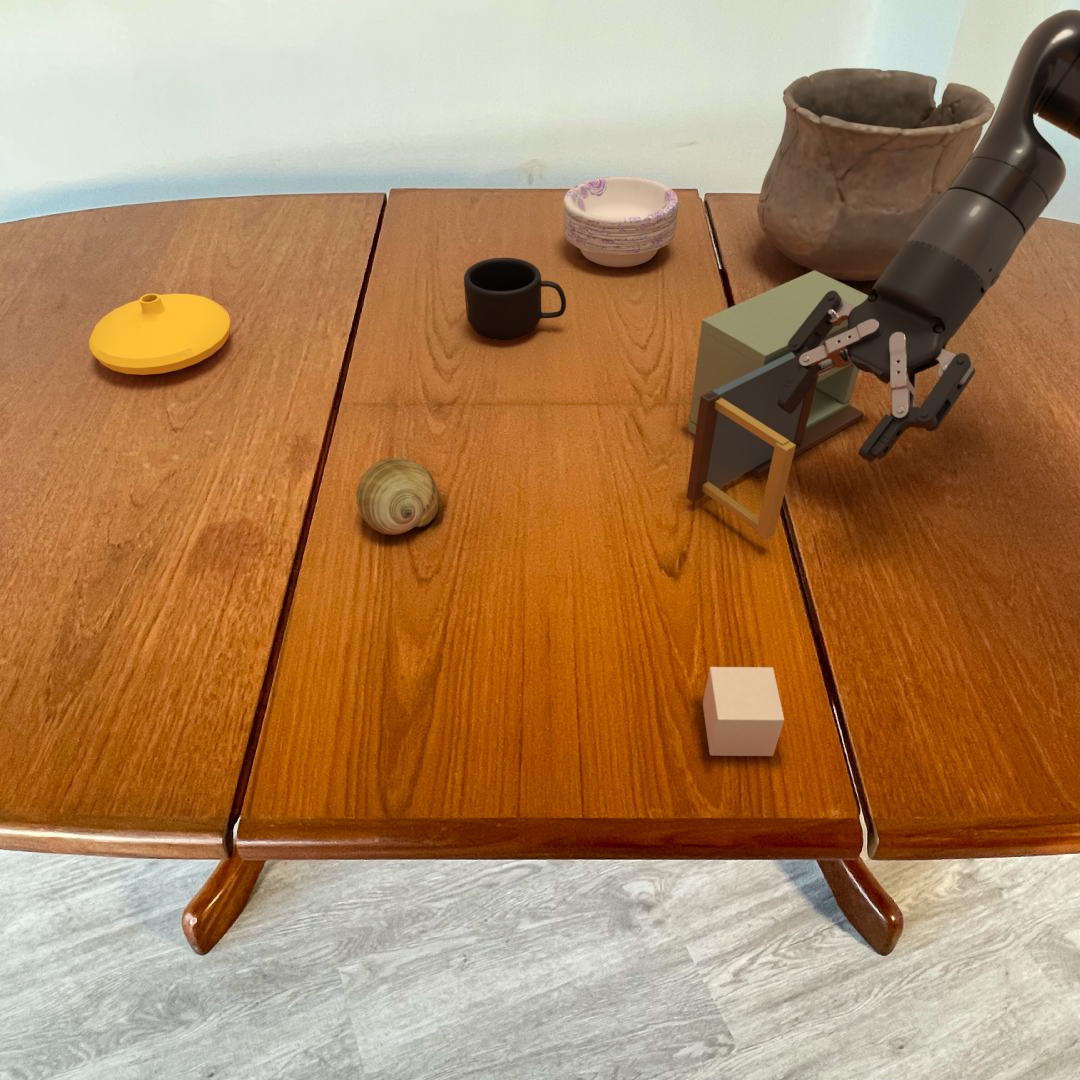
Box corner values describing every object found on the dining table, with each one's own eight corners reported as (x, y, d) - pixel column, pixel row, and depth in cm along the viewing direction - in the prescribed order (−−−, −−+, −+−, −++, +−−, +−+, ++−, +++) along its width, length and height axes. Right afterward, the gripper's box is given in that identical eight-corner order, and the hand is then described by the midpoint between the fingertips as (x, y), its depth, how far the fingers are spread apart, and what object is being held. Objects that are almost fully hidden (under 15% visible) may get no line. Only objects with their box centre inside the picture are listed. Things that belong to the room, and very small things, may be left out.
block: (762, 704, 67) (773, 666, 64) (773, 756, 64) (784, 720, 60) (702, 703, 67) (709, 666, 64) (709, 756, 64) (717, 719, 61)
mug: (461, 346, 104) (456, 291, 99) (474, 308, 111) (470, 254, 106) (561, 351, 103) (562, 296, 98) (569, 313, 110) (570, 259, 105)
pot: (920, 230, 125) (969, 66, 110) (960, 313, 108) (1024, 132, 94) (742, 224, 127) (767, 62, 112) (755, 305, 110) (786, 127, 96)
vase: (217, 389, 98) (200, 334, 93) (77, 391, 98) (52, 336, 93) (250, 317, 110) (236, 264, 105) (124, 319, 110) (104, 266, 105)
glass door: (868, 483, 84) (901, 381, 76) (758, 551, 77) (781, 447, 69) (795, 437, 89) (818, 337, 81) (686, 497, 83) (700, 395, 75)
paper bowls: (580, 223, 128) (581, 168, 123) (683, 236, 125) (689, 180, 119) (548, 270, 118) (548, 212, 112) (660, 286, 114) (665, 227, 109)
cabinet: (862, 419, 93) (895, 308, 84) (758, 478, 86) (781, 364, 77) (790, 377, 99) (814, 269, 90) (687, 430, 92) (702, 319, 83)
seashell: (386, 521, 88) (323, 487, 83) (426, 464, 88) (366, 425, 82) (428, 565, 81) (363, 531, 76) (472, 503, 81) (409, 464, 75)
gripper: (861, 212, 72) (742, 380, 75) (1022, 277, 63) (881, 463, 66) (885, 254, 77) (774, 409, 80) (1035, 319, 69) (905, 488, 72)
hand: (822, 433), depth 73 cm, fingers open, 8 cm apart
